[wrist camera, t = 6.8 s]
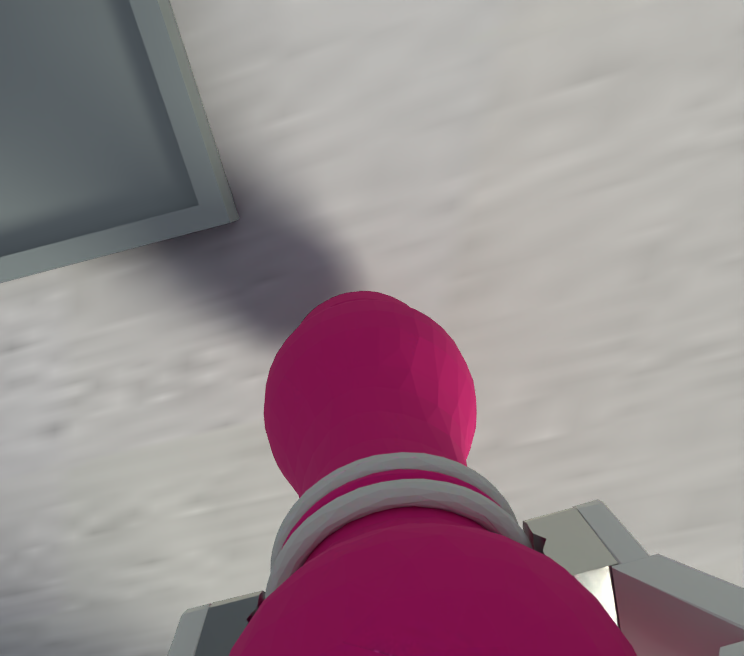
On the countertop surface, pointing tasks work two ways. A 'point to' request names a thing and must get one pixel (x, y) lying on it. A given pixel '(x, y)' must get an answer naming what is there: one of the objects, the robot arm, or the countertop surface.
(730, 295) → the countertop surface
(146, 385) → the countertop surface
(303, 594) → the pepper mill
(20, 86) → the slate tray
